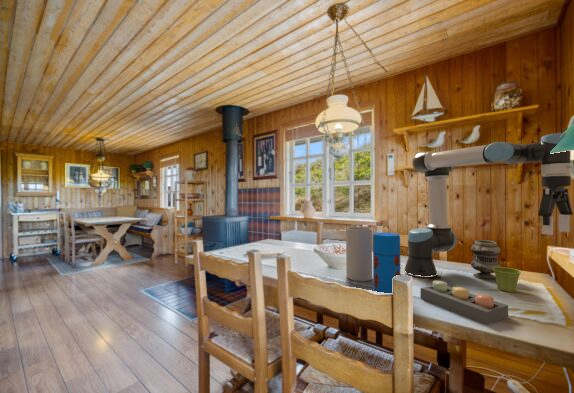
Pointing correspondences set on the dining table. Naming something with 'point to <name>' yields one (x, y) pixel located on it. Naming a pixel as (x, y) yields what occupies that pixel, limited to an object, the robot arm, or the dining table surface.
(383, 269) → the thermos
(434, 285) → the sage button
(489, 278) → the apothecary jar
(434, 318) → the dining table surface
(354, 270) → the cylinder vase
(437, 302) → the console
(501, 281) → the plant pot
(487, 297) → the pink button
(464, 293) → the ochre button
